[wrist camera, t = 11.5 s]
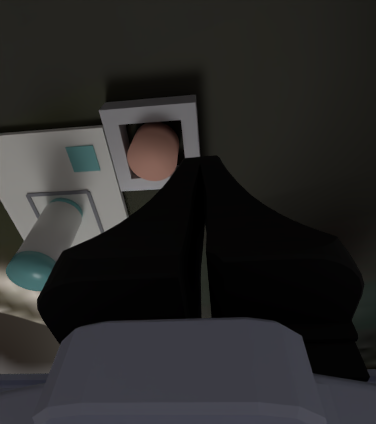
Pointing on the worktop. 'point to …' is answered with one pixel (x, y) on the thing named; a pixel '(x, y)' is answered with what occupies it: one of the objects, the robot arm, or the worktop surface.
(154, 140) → the button
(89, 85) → the worktop surface
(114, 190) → the picture card
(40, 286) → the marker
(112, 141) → the button housing
